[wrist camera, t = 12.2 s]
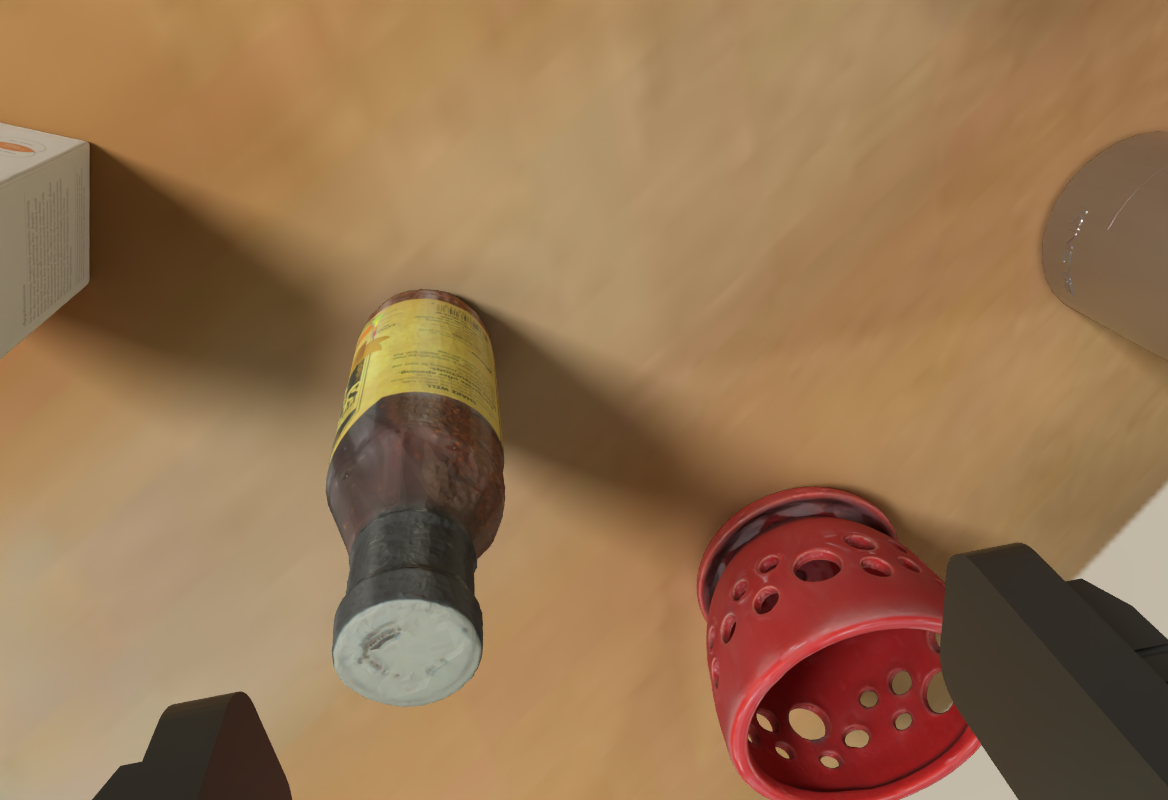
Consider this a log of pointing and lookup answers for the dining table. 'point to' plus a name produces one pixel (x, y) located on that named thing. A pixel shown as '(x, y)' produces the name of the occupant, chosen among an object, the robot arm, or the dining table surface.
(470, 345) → the sauce bottle
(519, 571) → the dining table surface
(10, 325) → the small box
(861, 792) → the plant pot
